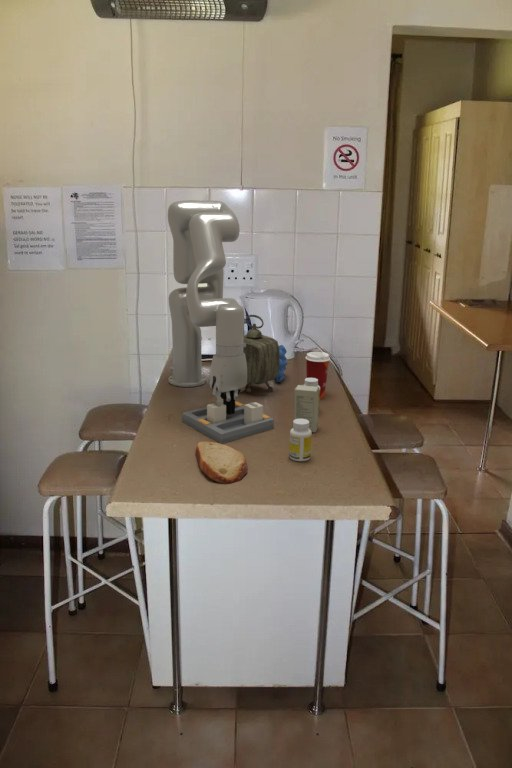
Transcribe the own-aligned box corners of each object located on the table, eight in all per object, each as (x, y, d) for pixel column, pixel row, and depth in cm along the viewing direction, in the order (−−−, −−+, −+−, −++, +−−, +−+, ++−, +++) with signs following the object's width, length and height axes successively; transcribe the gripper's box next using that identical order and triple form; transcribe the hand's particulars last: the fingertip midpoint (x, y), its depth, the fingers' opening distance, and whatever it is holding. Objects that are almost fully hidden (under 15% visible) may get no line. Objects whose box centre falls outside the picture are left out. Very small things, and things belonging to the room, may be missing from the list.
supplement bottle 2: (307, 416, 194) (309, 383, 191) (296, 410, 199) (297, 378, 195) (322, 413, 197) (324, 380, 194) (311, 407, 202) (312, 375, 198)
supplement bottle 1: (309, 453, 170) (311, 417, 167) (311, 462, 165) (313, 425, 162) (288, 452, 170) (290, 417, 167) (289, 461, 165) (291, 425, 162)
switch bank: (182, 421, 188) (182, 411, 187) (232, 408, 199) (233, 399, 198) (221, 443, 174) (221, 433, 173) (273, 428, 185) (274, 418, 184)
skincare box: (318, 427, 186) (320, 386, 183) (315, 433, 183) (317, 391, 179) (295, 424, 188) (297, 383, 184) (292, 430, 184) (294, 388, 180)
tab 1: (207, 423, 184) (207, 403, 182) (218, 420, 187) (218, 400, 185) (214, 427, 182) (214, 407, 180) (226, 424, 184) (226, 404, 182)
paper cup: (332, 399, 209) (334, 356, 205) (310, 401, 206) (312, 358, 202) (320, 391, 216) (323, 349, 211) (299, 393, 213) (301, 351, 209)
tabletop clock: (278, 392, 214) (281, 316, 206) (262, 399, 208) (264, 321, 200) (243, 382, 223) (244, 309, 215) (226, 389, 216) (226, 314, 208)
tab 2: (244, 423, 185) (244, 403, 183) (255, 420, 187) (255, 401, 185) (251, 427, 182) (251, 407, 180) (262, 424, 185) (263, 404, 183)
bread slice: (202, 445, 174) (202, 432, 173) (265, 458, 167) (265, 445, 166) (166, 472, 159) (165, 458, 157) (233, 488, 152) (233, 473, 150)
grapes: (269, 374, 232) (270, 340, 229) (288, 375, 231) (290, 342, 228) (265, 384, 221) (265, 349, 218) (285, 385, 220) (286, 351, 217)
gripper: (243, 342, 187) (242, 403, 193) (199, 350, 178) (199, 414, 184) (259, 348, 182) (258, 411, 188) (215, 357, 173) (215, 422, 179)
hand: (229, 412), depth 186 cm, fingers closed
